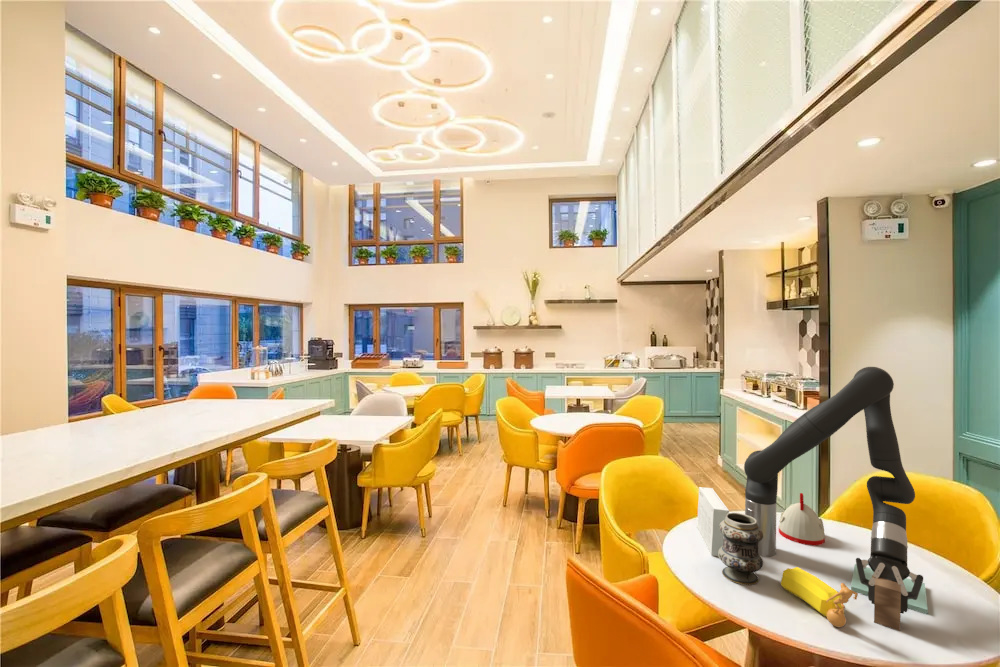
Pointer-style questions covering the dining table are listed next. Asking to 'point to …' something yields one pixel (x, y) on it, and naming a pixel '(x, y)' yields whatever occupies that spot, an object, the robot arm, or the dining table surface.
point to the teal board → (917, 604)
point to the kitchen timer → (801, 524)
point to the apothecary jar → (740, 548)
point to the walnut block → (887, 603)
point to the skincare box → (711, 519)
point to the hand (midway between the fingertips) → (887, 607)
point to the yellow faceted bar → (810, 589)
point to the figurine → (836, 614)
